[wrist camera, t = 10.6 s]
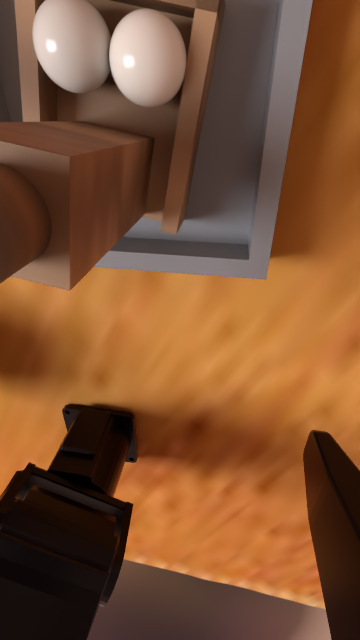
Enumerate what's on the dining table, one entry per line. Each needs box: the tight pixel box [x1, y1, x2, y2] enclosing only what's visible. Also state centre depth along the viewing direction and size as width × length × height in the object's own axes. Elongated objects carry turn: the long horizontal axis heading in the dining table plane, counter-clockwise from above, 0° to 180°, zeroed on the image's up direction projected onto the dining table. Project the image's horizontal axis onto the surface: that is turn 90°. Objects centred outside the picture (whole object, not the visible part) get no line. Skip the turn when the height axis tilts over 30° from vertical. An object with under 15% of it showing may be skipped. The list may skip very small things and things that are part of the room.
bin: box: [0, 0, 313, 280], centre depth 15 cm, size 17×15×3 cm
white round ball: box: [32, 0, 111, 94], centre depth 13 cm, size 3×3×3 cm
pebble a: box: [109, 8, 187, 108], centre depth 13 cm, size 3×3×3 cm
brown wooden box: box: [0, 0, 225, 291], centre depth 11 cm, size 9×8×12 cm
